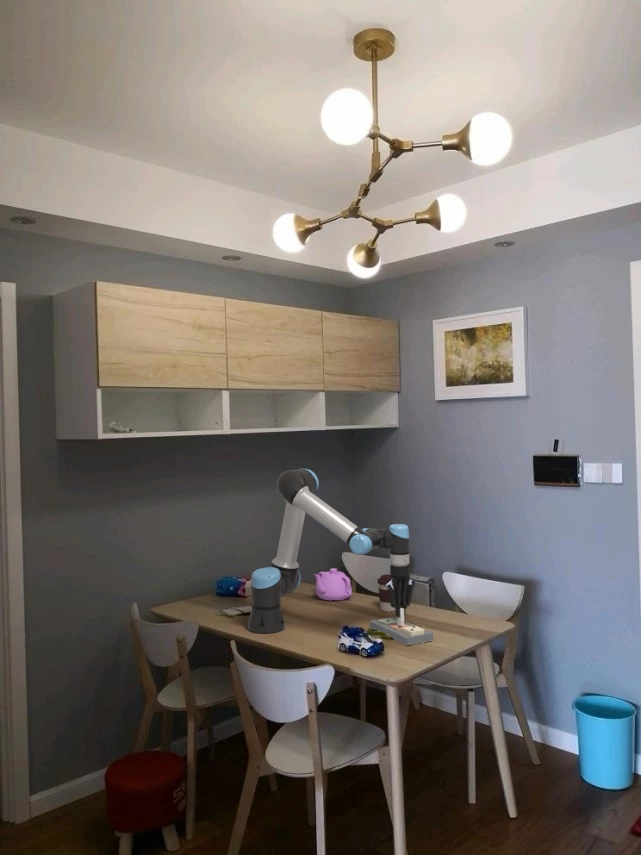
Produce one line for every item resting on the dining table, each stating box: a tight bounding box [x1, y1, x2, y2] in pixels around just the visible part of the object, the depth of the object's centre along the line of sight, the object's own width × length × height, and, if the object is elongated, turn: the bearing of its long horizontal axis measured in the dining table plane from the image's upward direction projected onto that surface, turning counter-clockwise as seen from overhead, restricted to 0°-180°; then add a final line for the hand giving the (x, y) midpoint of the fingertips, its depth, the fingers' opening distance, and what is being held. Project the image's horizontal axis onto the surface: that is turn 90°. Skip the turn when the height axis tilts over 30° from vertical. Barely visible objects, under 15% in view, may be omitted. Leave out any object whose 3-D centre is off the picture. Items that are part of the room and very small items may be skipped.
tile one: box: [378, 617, 397, 625], centre depth 274 cm, size 6×6×3 cm
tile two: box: [402, 625, 425, 636], centre depth 259 cm, size 6×6×3 cm
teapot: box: [313, 567, 353, 601], centre depth 322 cm, size 22×22×14 cm
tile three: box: [390, 624, 409, 630], centre depth 266 cm, size 6×6×3 cm
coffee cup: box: [376, 574, 395, 613], centre depth 302 cm, size 10×10×15 cm
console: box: [368, 616, 434, 646], centre depth 266 cm, size 12×26×3 cm, turn 28°
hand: (400, 624), depth 266 cm, fingers closed
